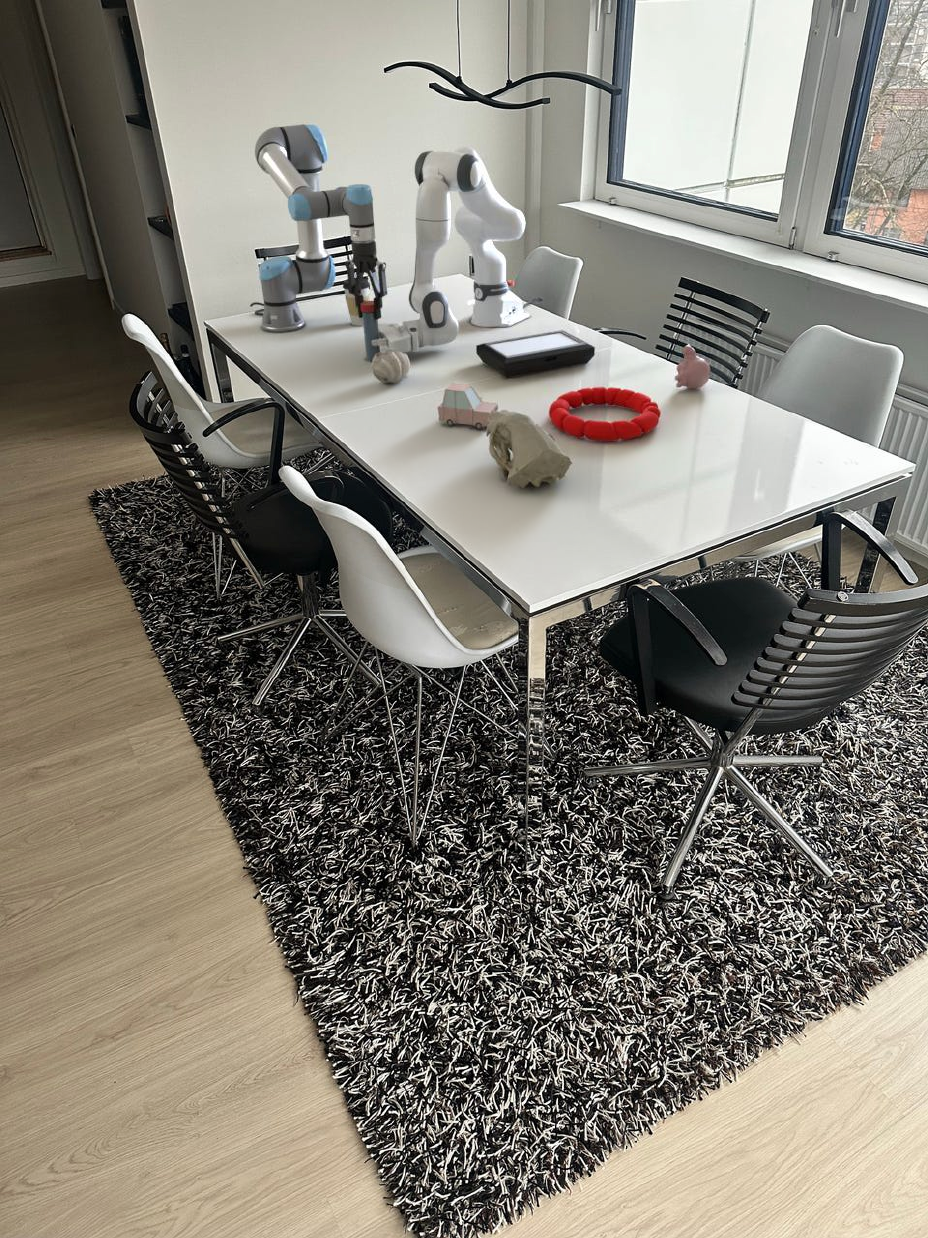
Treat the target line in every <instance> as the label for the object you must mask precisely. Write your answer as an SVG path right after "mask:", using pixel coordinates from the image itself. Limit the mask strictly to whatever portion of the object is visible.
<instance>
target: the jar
mask: <svg viewBox="0 0 928 1238" xmlns="http://www.w3.org/2000/svg"><path fill="white" fill-rule="evenodd" d="M362 316H363V325H362V328H363V337H364V348H365V349H364V350H365V358H366V361H369V362H372V361H373V358H374V357H375V354H376V353H381V346H378V345H377V346H373V345H372V344H371V340H372V339H379V330H378V325H379V319H378V320H375V312H369V313H367V312H362Z"/></svg>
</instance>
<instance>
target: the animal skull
mask: <svg viewBox="0 0 928 1238" xmlns="http://www.w3.org/2000/svg"><path fill="white" fill-rule="evenodd" d="M485 436H486V438H487V437H489V438H488V440H489V444H488V445H489V446H488V450H489V454H490V456H491V457H492V458H493V459H494V460H495V462H496V464H497V466H499V468H500V470H501V471H502V472H501V478H502V479H507V480H506V484H507V486H517V487H518V486H519V488H523V489H524V488H526V486H527V485H529V483H531V485H533V486H534V487H536V488H540V485H541V484H542V482H544V483H549V484H550V485H553V484H555V483H556V482H557V480H561V479H563V478H565V476H566V474H567V472H568V471H569V469H570V467H571V466H572V464H573V462H572V461H571V458H570V457H568V456H567V455H565V453H564V451H562V449H561V448H560V446H559V444H557V443H556V439H555V438H554V436H553V435H551V434H550V433H548V432H547V431H546V430H545V429H544V428H542V427H541V426H539V425H538V424H537V423H536V424H535V422H534V421H533V419H532V418H531V417H530V416H529V415H527V414H524V413H519V412H515V411H509V410H507V409H502V410H500V411H499V410H497V411H496V412H492V413H491V414H490V422H488V423H487V427H486V435H485ZM511 453H512V454H511ZM511 455H512V457H513V458H512V460H511ZM507 474H508V475H507Z"/></svg>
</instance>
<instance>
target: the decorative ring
mask: <svg viewBox="0 0 928 1238" xmlns="http://www.w3.org/2000/svg"><path fill="white" fill-rule="evenodd" d="M583 405H584V406H586V407H587V406H591V405H593V406H604V405H608V406H614V407H619V408H624V409H628V410H632V411H635V412H636V413H638V414H639V415H637V416H635V417H632V418H631V419H630V420H625V419H624V420H623V419H622V420H614V421H611V422H609V421H607V420H606V421H605V420H593V419H587V420H586V421H585V419H584V418H582V417H579V416H577V415H573V414H571V413H570V410H571V409H579V408H581V407H582V406H583ZM548 416H549V419H550V422H551V423H552V425H553V426H554V427H555V428H556V429H558V430H559V431H561V432H563V433H567V434H568V435H569V436H573V437H576V438H580V439H582V438H583V437H585V438H586V439H587V440H591V441H601V442H602V441H603V442H608V441H609V442H610V441H611V442H612V441H615V442H616V441H618V440H630V439H634V438H638V437H641V436H642V434H647V433H650V432H651V431H653V430H654V429H655V428H656V427H657V426H658V424H659V422H660V421H659V420H660V417H661V410H660V408H659V405H658V403H657V402H656V401H652V399H651V397H649V396H648V395H646V394H644V393H642V392H635V391H634V390H632V389H628V388H624V389H622V388H620V387H613V386H612V387H611V386H610V387H608V388H606V387H604V386H594V387H585V388H584V387H583V388H580V389H578V390H571V391H568V392H565V393H563V394H561V395H560V396H558V397H557V398H556V400H554V401H552V403H551V404H550V407H549V409H548Z"/></svg>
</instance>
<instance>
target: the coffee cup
mask: <svg viewBox="0 0 928 1238" xmlns="http://www.w3.org/2000/svg"><path fill="white" fill-rule="evenodd" d="M355 281H356V277H355ZM370 287H371V282H369V279H367V278H365V277H363V281H362V288H361V293H362V294H360V295H363V300H364V301H370ZM342 288H343V290H344V297H345V301H346V305H347V310H348V314H349V318H350V323H351V325H353V326H357V327H359V326H363V317H362V318H359V315H358V306H356V305H355V296H354V295H353V294H349V291H348V278H347V279H345V280H344V281H343V285H342Z"/></svg>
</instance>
